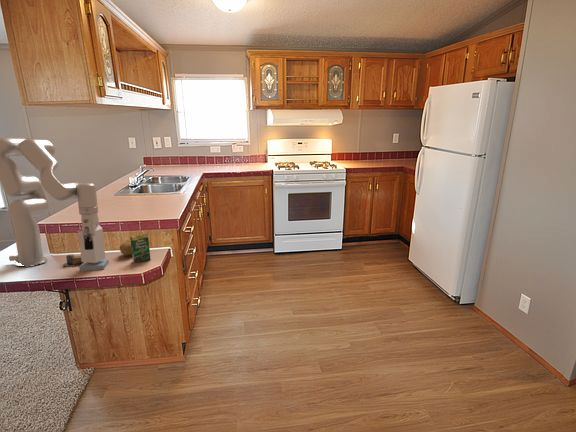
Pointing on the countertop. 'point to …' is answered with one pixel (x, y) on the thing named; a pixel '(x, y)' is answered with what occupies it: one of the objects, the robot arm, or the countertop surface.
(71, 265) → the hinge plate
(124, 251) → the potato
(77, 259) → the leg
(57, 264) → the countertop surface
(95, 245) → the milk carton
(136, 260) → the coffee box
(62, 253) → the countertop surface
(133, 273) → the countertop surface
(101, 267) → the seat board
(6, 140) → the robot arm
